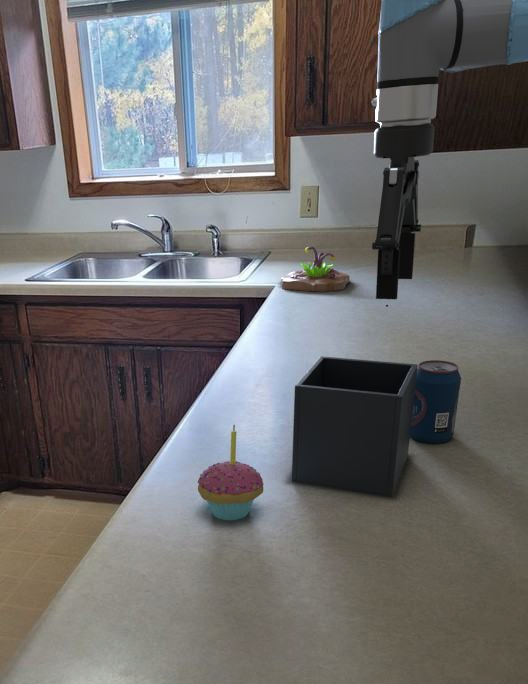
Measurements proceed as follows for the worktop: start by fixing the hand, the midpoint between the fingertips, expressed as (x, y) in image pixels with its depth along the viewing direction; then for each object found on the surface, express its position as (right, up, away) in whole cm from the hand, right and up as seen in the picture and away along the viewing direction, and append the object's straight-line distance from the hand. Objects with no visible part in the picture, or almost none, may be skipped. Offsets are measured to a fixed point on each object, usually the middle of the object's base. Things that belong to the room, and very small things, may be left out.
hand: (394, 288), depth 106 cm
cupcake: (-24, -32, -8) cm, 41 cm away
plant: (+12, +31, +117) cm, 122 cm away
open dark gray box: (-6, -26, +2) cm, 27 cm away
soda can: (+9, -21, +12) cm, 26 cm away
